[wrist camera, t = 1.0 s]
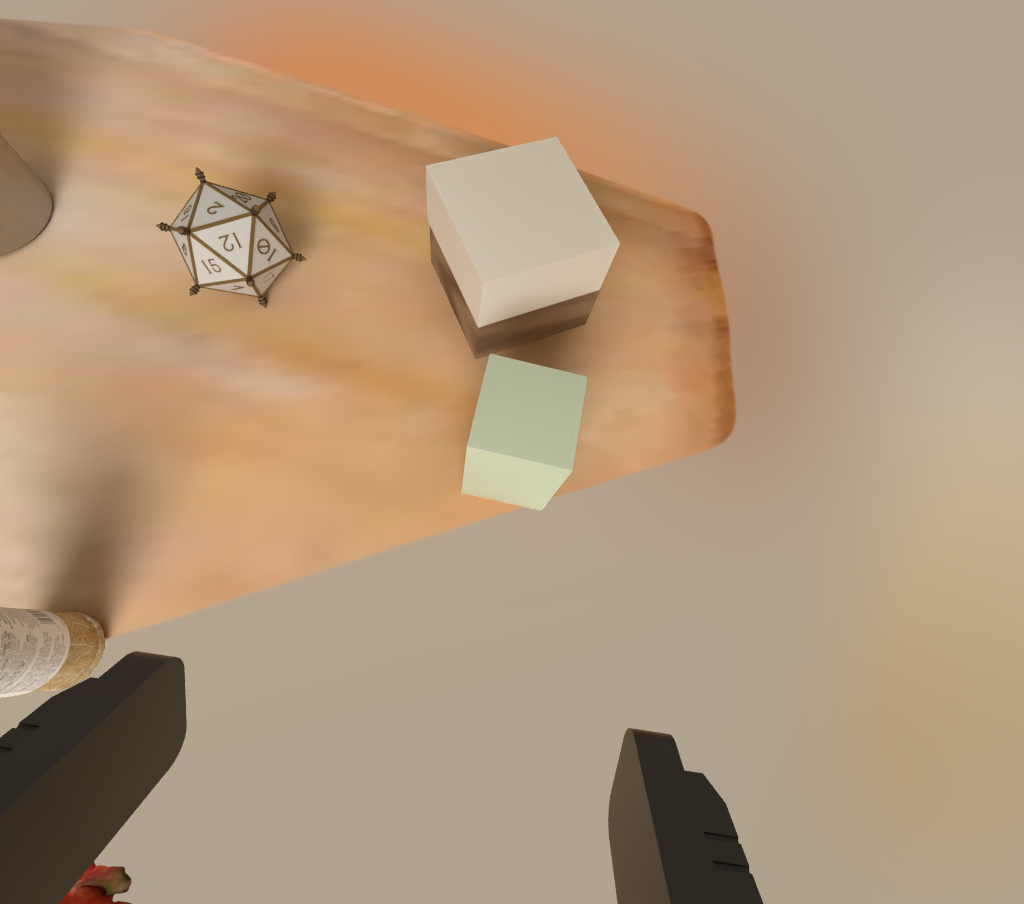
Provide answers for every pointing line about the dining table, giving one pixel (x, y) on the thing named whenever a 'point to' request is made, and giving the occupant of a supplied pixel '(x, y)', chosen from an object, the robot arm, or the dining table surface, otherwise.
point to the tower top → (518, 229)
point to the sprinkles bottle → (46, 649)
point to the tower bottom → (512, 328)
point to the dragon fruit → (98, 886)
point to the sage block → (523, 432)
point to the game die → (231, 240)
